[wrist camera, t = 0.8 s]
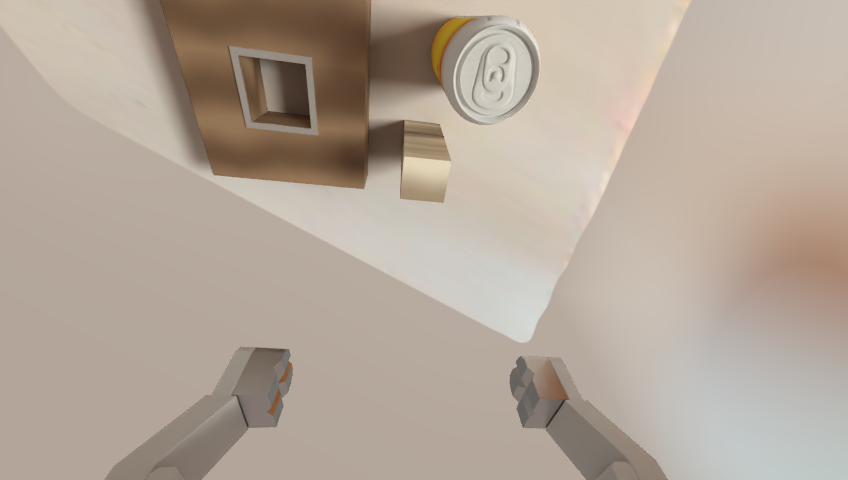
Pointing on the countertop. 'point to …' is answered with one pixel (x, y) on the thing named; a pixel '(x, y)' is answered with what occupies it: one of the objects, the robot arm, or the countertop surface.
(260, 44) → the walnut board
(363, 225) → the countertop surface
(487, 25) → the beer can
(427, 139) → the birch peg
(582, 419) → the robot arm
